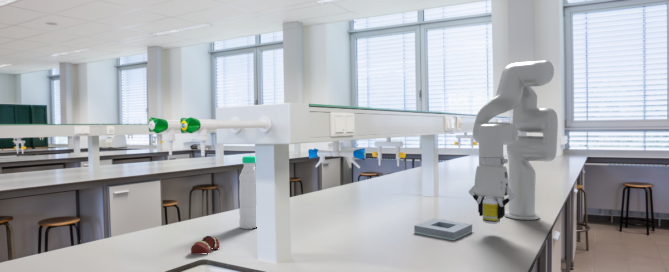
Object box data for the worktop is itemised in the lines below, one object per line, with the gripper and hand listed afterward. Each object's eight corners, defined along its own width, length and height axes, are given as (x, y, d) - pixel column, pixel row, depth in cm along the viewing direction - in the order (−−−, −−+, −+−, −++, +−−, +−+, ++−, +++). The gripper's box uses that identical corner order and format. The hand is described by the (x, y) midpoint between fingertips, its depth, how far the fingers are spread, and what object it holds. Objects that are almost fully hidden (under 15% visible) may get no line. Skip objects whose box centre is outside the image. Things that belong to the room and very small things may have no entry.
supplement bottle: (501, 224, 138) (501, 194, 138) (483, 224, 140) (483, 194, 139) (498, 220, 144) (498, 191, 143) (481, 219, 145) (481, 190, 144)
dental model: (188, 240, 120) (205, 233, 128) (188, 254, 120) (204, 247, 128) (206, 242, 118) (221, 235, 126) (205, 257, 118) (221, 249, 126)
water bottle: (235, 228, 149) (234, 156, 149) (246, 224, 156) (246, 155, 155) (252, 230, 147) (252, 157, 146) (263, 225, 153) (263, 155, 153)
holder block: (434, 225, 154) (434, 218, 154) (472, 231, 145) (472, 224, 145) (414, 232, 143) (414, 225, 143) (453, 240, 134) (453, 232, 134)
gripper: (522, 162, 138) (522, 217, 139) (470, 159, 149) (471, 210, 150) (514, 165, 132) (514, 223, 133) (461, 161, 143) (461, 215, 144)
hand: (491, 215), depth 142 cm, fingers closed on supplement bottle, 5 cm apart
